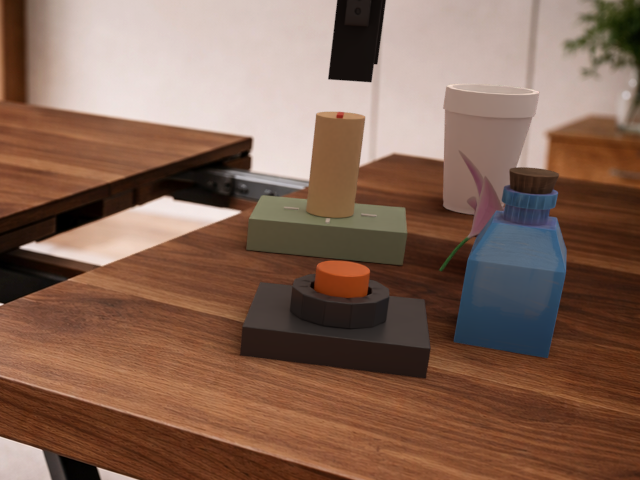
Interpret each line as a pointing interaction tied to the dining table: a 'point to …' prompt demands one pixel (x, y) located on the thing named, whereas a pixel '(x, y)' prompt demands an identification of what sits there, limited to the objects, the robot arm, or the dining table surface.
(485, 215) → the lily
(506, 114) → the foam cup
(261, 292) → the button block
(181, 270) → the dining table surface
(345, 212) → the handle
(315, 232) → the panel
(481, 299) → the perfume bottle
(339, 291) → the button
